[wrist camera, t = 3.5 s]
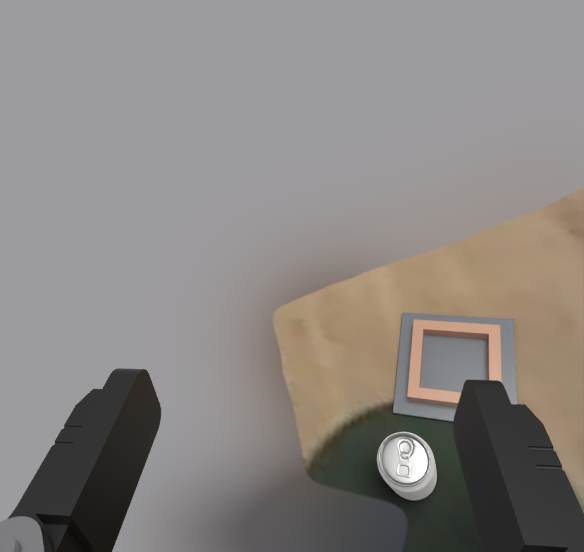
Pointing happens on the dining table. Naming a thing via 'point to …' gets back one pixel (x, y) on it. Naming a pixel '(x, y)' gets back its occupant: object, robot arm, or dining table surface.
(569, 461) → the dining table surface
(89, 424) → the robot arm
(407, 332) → the tray
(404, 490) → the can
